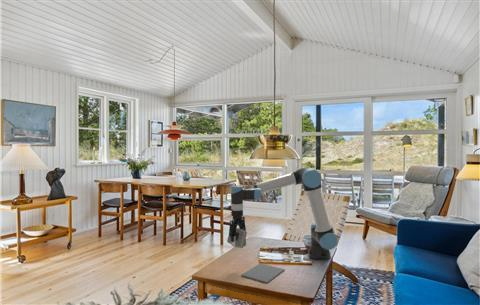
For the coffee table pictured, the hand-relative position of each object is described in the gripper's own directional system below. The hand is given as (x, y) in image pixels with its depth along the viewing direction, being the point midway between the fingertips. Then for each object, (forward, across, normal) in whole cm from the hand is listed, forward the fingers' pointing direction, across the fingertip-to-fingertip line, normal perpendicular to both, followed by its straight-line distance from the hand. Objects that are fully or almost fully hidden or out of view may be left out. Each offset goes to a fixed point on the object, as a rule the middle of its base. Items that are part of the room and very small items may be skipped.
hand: (237, 244), depth 210 cm
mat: (+15, -1, +18) cm, 24 cm away
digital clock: (+1, +1, 0) cm, 1 cm away
